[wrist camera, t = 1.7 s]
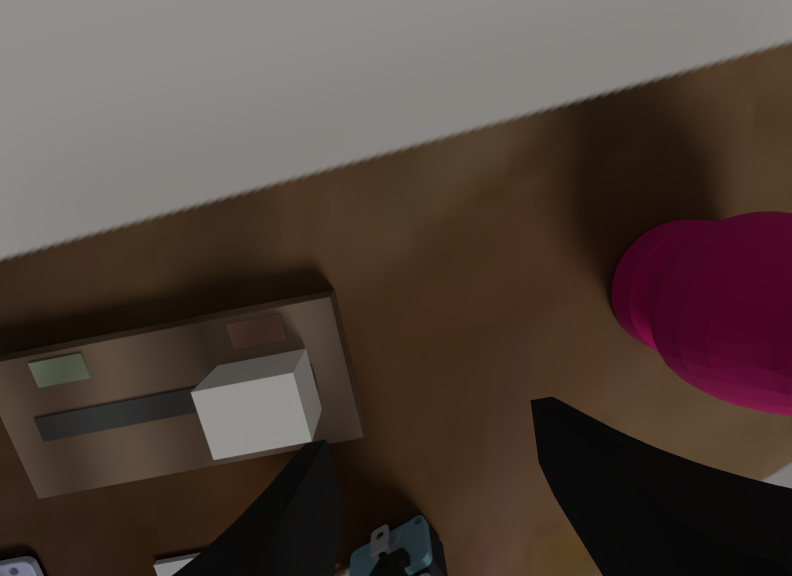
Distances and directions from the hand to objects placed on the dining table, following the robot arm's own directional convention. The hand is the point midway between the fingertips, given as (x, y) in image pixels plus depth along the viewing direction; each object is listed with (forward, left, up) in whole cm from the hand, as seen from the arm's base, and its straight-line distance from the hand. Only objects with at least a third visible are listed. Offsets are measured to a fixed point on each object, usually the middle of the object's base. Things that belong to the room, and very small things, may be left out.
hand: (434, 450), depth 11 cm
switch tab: (-7, 0, -7) cm, 9 cm away
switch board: (-11, 0, -8) cm, 14 cm away
